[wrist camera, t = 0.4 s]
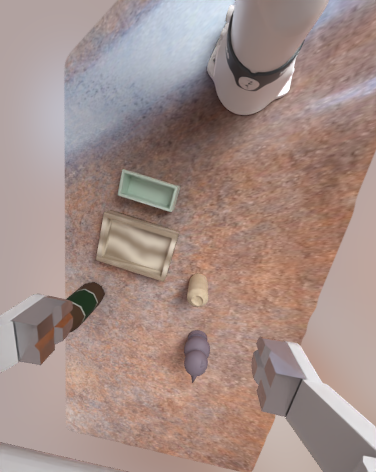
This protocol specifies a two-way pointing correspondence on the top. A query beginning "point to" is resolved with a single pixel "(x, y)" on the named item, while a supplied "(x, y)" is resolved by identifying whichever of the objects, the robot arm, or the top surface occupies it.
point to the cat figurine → (196, 353)
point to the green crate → (148, 190)
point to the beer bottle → (85, 302)
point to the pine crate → (136, 245)
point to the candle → (198, 290)
